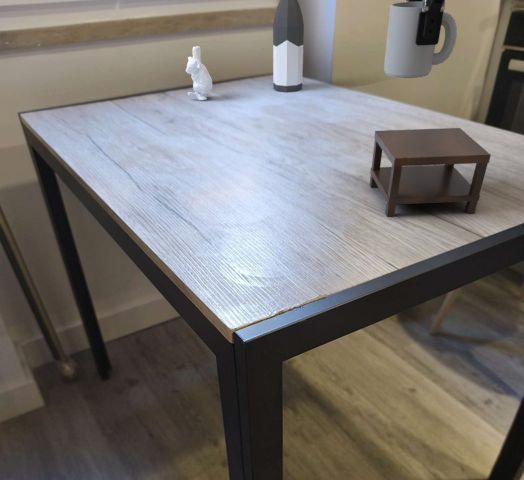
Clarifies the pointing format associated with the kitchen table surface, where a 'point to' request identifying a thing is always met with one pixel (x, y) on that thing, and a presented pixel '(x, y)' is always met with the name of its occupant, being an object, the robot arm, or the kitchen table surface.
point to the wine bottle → (288, 46)
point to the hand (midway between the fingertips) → (419, 39)
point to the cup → (413, 42)
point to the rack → (427, 167)
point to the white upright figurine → (199, 76)
